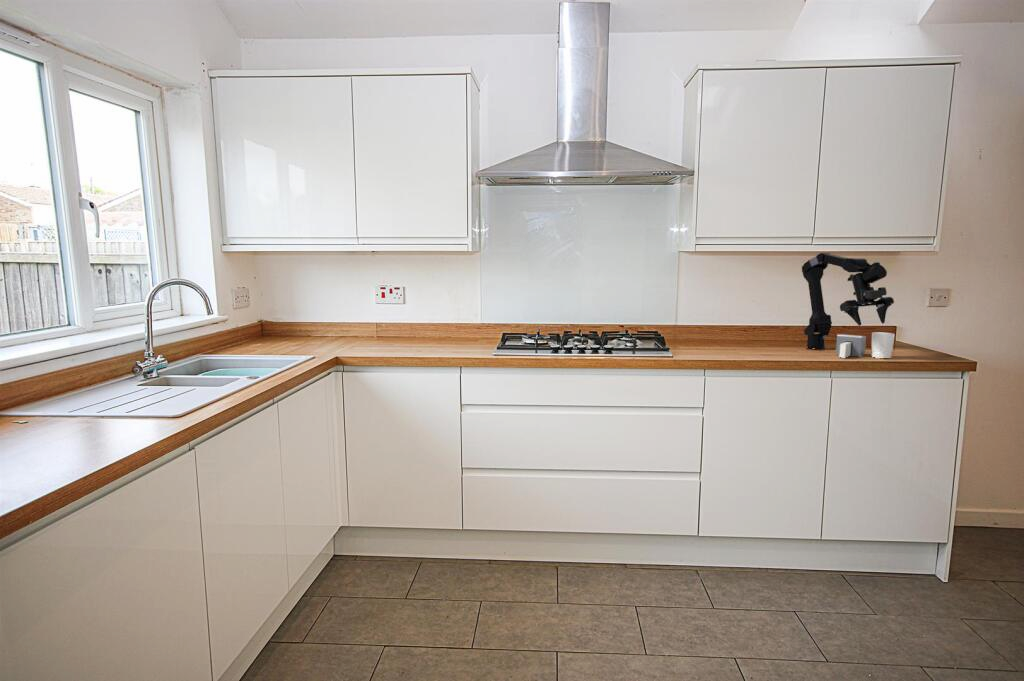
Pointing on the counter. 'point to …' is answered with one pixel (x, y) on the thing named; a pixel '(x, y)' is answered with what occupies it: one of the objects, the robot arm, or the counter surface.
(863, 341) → the dispenser
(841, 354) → the white rectangular block
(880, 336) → the white cup
